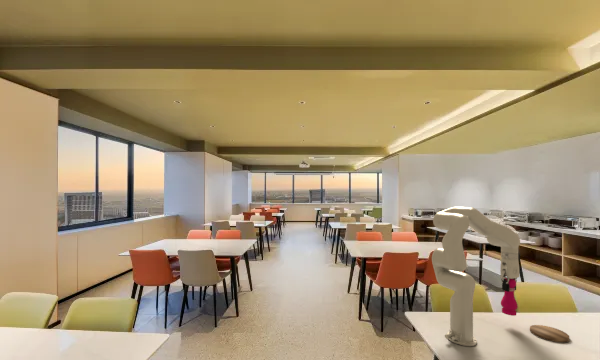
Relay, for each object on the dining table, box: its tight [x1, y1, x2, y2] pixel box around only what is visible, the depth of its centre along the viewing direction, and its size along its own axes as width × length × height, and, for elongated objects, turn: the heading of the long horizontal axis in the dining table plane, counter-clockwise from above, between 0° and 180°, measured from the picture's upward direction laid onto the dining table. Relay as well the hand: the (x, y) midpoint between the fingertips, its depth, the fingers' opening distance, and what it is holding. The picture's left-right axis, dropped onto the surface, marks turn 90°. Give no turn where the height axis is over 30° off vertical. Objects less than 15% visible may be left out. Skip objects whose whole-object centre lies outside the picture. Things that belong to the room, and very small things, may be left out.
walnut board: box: [529, 324, 570, 344], centre depth 147 cm, size 15×15×2 cm
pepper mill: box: [500, 278, 519, 317], centre depth 156 cm, size 7×7×20 cm
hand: (509, 289), depth 156 cm, fingers closed on pepper mill, 6 cm apart
